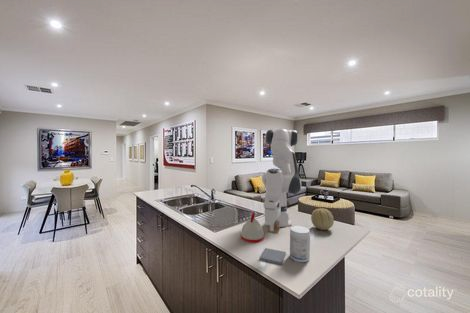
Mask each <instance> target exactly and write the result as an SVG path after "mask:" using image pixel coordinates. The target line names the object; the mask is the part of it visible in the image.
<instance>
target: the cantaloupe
mask: <svg viewBox="0 0 470 313" xmlns="http://www.w3.org/2000/svg"><path fill="white" fill-rule="evenodd" d="M334 219H335V218H334V216H333V214H332V212H331V211H330V210H329V209H327V208H321V207H320V206H318V207H317V208H316V209H314V210H313V211H312V212H311V216H310V220H311V223H312V225H313V226H314V227H315V228H316V229H318V230H322V231H326V230H329V229H330V228H332V227H333V226H334V221H335V220H334Z"/></svg>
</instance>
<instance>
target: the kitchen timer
mask: <svg viewBox="0 0 470 313" xmlns="http://www.w3.org/2000/svg"><path fill="white" fill-rule="evenodd" d="M240 237H241V239H242V240H243V241H245V242H247V243H260V242H263V240H264V228H263V226H262V224H261V223H260V222H259V221H258V220H257V219H256V218H255V213H254V212H252V213H251V216H250V218H249V219H248V220H247V221H246V222H245V223H244V224H243V225H242V227H241V233H240Z"/></svg>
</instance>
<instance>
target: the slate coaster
mask: <svg viewBox="0 0 470 313" xmlns="http://www.w3.org/2000/svg"><path fill="white" fill-rule="evenodd" d="M286 255H287V253H286V251H283V250H278V249H273V248H267V247H264V248H263V251H262V252H261V254H260V256H259V260H260V261H263V262H267V263H272V264H276V265H280V266H282V265H283V263H284V260H285V257H286Z"/></svg>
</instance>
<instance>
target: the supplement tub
mask: <svg viewBox="0 0 470 313" xmlns="http://www.w3.org/2000/svg"><path fill="white" fill-rule="evenodd" d="M289 229H290V231H289V232H290V233H289V256H290V259H292V260H293V261H295V262H297V263H307V262H309V261H310V258H311V257H310V255H311V254H310V249H311V246H310V245H311V233H310V229H309V228H308V227H304V226H301V225H294V226H291V227H290V228H289Z"/></svg>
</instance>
